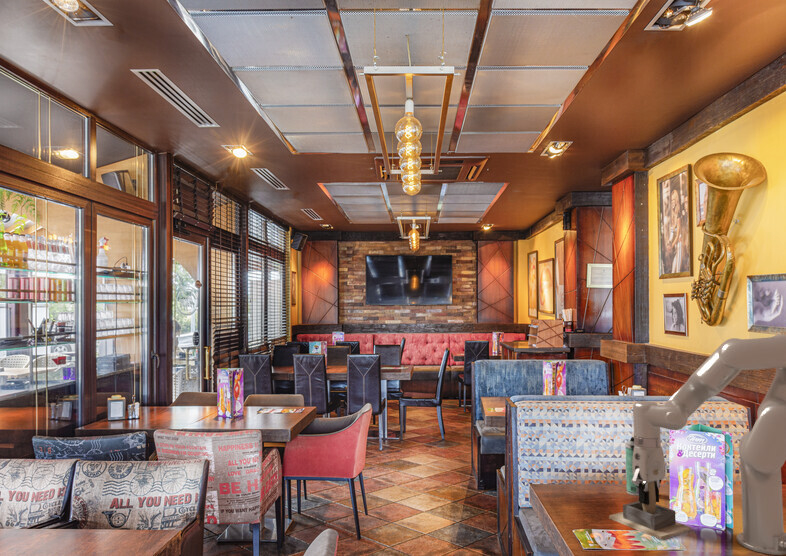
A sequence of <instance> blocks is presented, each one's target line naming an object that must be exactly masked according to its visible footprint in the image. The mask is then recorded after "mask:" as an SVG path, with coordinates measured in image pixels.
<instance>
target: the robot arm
mask: <svg viewBox="0 0 786 556" xmlns="http://www.w3.org/2000/svg"><path fill="white" fill-rule="evenodd" d="M768 369H769V370H770V369H776V370H775V374H774V377H773V380H772V382H771V384H770V387H769V388H768V390H767V392H766V394H765V396H764V398H763V399H762V401H761V402H760V405H759V406H758V408H757V411H756V414H757V418H756V420H755V423H754V425H753V427H752V429H751V430H749V431H747V432H745V433H744V434H743V435H742V436H741V437H740V440H739V444H738V448H739V451H738V452H739V462H740V483H741V485H740V487H741V488H740V489H741V491H740V493H741V515H742V518H741V519H742V532H740V533H739V534H737V535H736V541H737V543H739V544H740V545H741V546H742V547H744V548H746V549H748V550H751V551H754V552H757V553H762V554H766V555H773V556H785V555H786V532H784V531H785V530H784V513H783V512H784V511H783V483H782V467H783V466H784V464H785V462H786V334H785V333H783V334H776V335H773V336H770V337H769V336H768V337H758V338H745V339H743V338H741V339H740V338H728V339H726V340H725V341H724V342H722V343H721V344H720V345H719V346H718V348H717V349H716V350H714V351H713V352H712V353H711V354H710V355H709V357H707V358H706V359H705V361H703V362H702V364H700V365H699V367H698V368H697V369H696V370H695V371H694V372H693V373H692V374H691V375H690V376H689V378H688V379H687V380H686V381H685V383H684V384H683V385H682V386H681V387H680V388H678V390H677V391H675V392H674V394H673V395H672V396H671V397H670V398H669V399H667V401H666V402H665V403H664V404H663V405H661V404H658V403H657V402H654V401H648V400H647V401H646V400H638V401H636V402H634V403H633V405H632V411H633V412H632V413H633V415H632V416H633V417H632V418H633V437H634V451H633V479H632V483H634V484H635V485H636V486H637V489H639V496H638V501H639V502H640V503H643V504H646V505H649V491H647V490H648V482H653V481H654V484H655V495H656V503H659V502H660V488H661V483H662V480H664V479H665V478H666V463H665V462H666V461H665V455H664V451H663V447H662V445H661V437H662V436H661V429H666V430H671V431H679V430H682V429H684V428H685V426H686V425H687V422H688V419H689V418H690V417H691V416H692V415H693V414H694V413H695V411H697V410H698V409H699V408H700V407H701V406H702V405H703V404H704V403H706V402H707V400H709V399H712V398H713V397H715V396H718V394H720V393H721V392H722V391H723V390H724V389H725V388H726V387H727V386H728V385H729V384H730V383H731V382H732V381H733V380H734V379H735V378H736V377H737V376H738V375H740V373H742V371H745V370H746V371H750V370H751V371H753V370H754V371H755V370H768ZM654 470H658V474H657V475H654V474H653V471H654ZM642 482H644V485H643V484H642Z"/></svg>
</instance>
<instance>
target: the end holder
mask: <svg viewBox="0 0 786 556" xmlns="http://www.w3.org/2000/svg"><path fill="white" fill-rule="evenodd" d="M608 517H609V518H608V519H609V520H612V521H614V522H617V523H619V524H621V525H624V526H627V527H628V528H631V529H634V530H637V531H638V532H640V533H643V534H646V535H647V536H650V535H651V537H653V536H654V537H653V538H655V537H656V538H655V539H658V540H660V541H663V540H666V539H668V538H672V537H676V536H679V535H681V534H684V533H688V532H691V531H692V527H691V526H689V525H687V524H683V523H680V522H679V521H676V510H674V509H671V508H668V507H666V506H662V505H660V504H657V503H656V511H655V514H654V515H653V514H650V513H647V512H645V511H643V506H642V503H640V502H639V500H636V501H633V502H630V503H626V504H625V503H624V504H623V505H622V512H617V513H613V514H609V516H608ZM665 538H666V539H665ZM662 539H663V540H662Z"/></svg>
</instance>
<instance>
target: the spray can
mask: <svg viewBox="0 0 786 556" xmlns="http://www.w3.org/2000/svg"><path fill="white" fill-rule="evenodd" d="M633 451H634V436H631V437H630V440H629V441H627V442H626V443H625V467H626V468H625V469H626V470H625V471H626V494H628V495H631V496H636V497H637V496H638V497H639V489H637V486H636V485H635V484H634V483H632V479H633Z"/></svg>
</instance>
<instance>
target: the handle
mask: <svg viewBox="0 0 786 556" xmlns="http://www.w3.org/2000/svg"><path fill="white" fill-rule="evenodd" d="M653 474H654V475H657V474H658V470H654V471H653ZM642 484H643V485H644V482H642ZM647 491H649V505H646V504H643V503H642V506H643V511H645V512H647V513H650V514H653V515H654V514H655V511H656V504H657V502H656V495H655V484H654V481H653V482H648V490H647Z"/></svg>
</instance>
